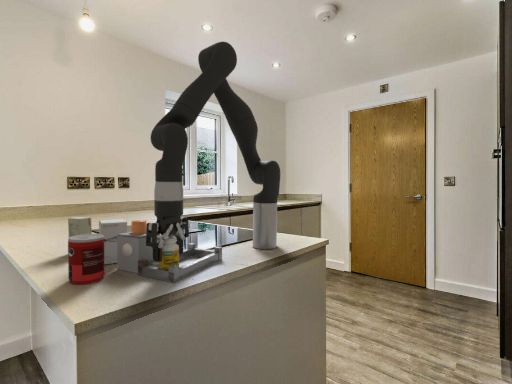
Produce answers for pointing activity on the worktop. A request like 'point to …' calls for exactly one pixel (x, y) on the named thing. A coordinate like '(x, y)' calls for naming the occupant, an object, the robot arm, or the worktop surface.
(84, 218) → the skincare box
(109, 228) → the supplement box
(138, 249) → the cabinet
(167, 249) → the supplement bottle
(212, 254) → the grey rectangular tray
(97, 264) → the canned food
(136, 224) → the brown egg
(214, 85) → the robot arm
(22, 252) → the worktop surface
